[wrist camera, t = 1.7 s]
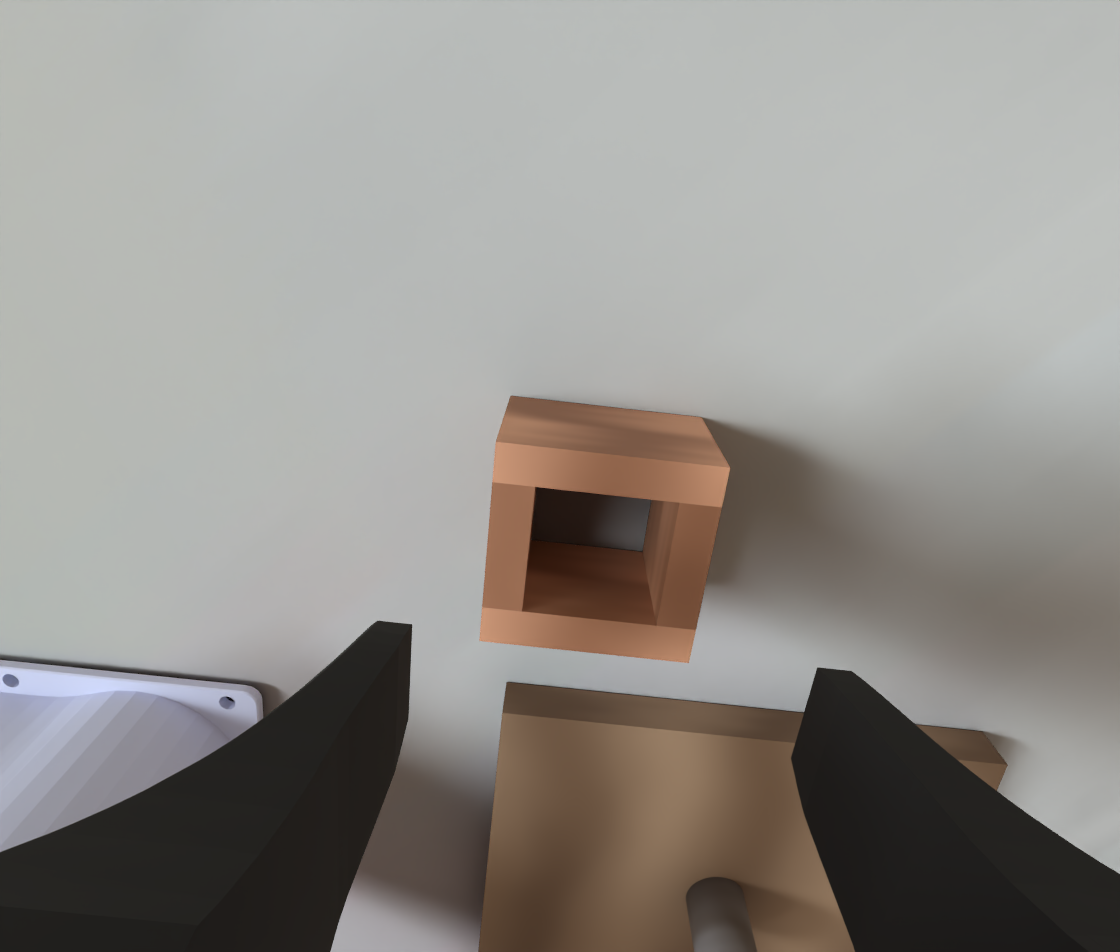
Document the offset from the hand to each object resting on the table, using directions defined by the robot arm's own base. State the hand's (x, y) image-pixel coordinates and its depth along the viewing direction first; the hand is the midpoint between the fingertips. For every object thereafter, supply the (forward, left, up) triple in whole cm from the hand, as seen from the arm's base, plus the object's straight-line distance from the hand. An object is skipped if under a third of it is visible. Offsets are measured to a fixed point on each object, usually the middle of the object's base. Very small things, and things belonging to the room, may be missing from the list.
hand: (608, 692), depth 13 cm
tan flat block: (+6, -14, -9) cm, 18 cm away
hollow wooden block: (0, 0, -9) cm, 9 cm away
